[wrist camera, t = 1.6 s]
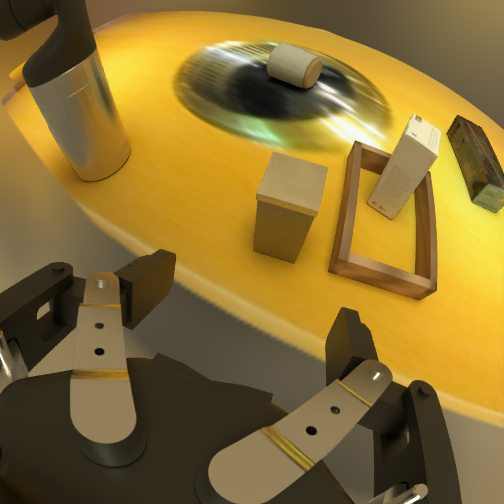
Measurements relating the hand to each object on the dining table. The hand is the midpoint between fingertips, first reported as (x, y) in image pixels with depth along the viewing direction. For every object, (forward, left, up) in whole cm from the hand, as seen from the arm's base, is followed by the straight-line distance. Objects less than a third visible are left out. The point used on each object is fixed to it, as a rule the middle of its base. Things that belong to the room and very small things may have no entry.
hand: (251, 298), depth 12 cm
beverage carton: (+32, +39, -15) cm, 53 cm away
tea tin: (0, +11, -14) cm, 18 cm away
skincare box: (+12, +22, -14) cm, 29 cm away
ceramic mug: (-6, +46, -14) cm, 49 cm away
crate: (+12, +18, -14) cm, 26 cm away
